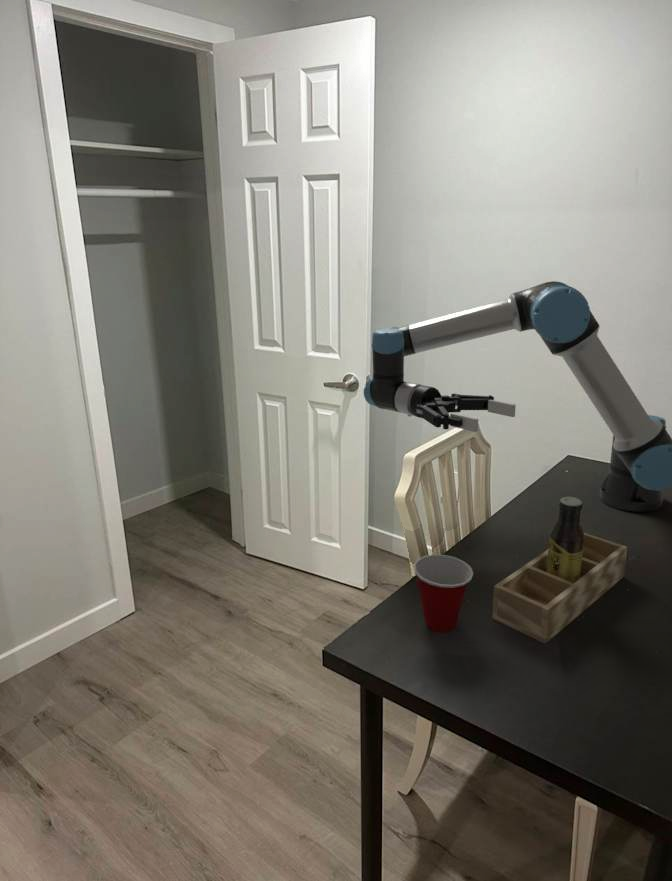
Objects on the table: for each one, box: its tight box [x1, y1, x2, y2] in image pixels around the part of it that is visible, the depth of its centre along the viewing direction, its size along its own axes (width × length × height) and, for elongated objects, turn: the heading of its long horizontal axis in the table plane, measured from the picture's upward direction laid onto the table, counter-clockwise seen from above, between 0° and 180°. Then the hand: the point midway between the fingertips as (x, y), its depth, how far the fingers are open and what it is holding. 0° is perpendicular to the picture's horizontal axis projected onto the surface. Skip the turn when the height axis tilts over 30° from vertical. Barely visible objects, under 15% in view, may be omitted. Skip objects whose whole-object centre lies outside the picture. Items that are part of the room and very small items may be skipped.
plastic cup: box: [413, 554, 474, 633], centre depth 116 cm, size 11×11×12 cm
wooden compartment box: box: [491, 531, 628, 645], centre depth 124 cm, size 31×11×7 cm, turn 132°
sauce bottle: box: [546, 496, 585, 583], centre depth 121 cm, size 7×6×20 cm
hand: (496, 418), depth 132 cm, fingers open, 13 cm apart
